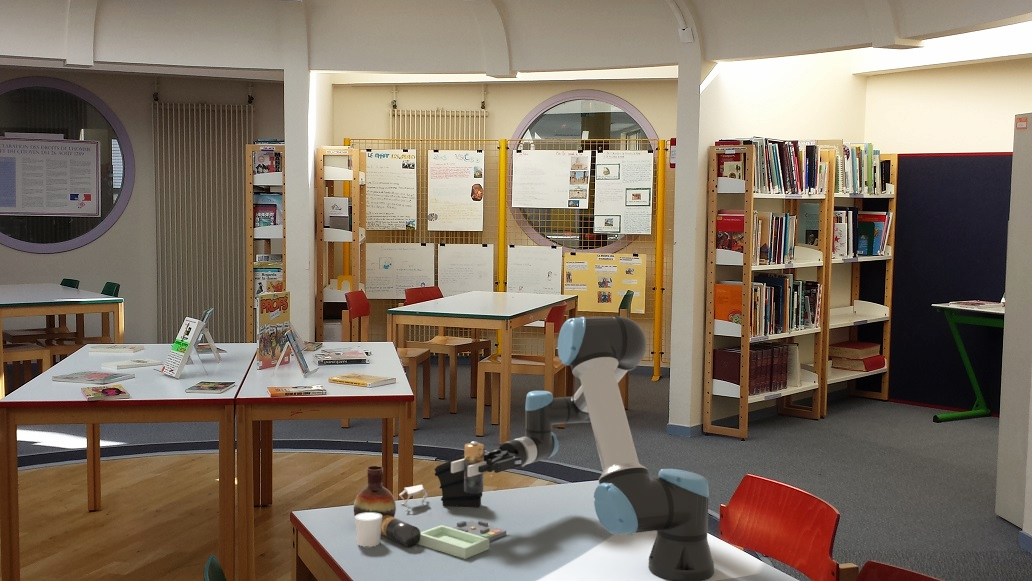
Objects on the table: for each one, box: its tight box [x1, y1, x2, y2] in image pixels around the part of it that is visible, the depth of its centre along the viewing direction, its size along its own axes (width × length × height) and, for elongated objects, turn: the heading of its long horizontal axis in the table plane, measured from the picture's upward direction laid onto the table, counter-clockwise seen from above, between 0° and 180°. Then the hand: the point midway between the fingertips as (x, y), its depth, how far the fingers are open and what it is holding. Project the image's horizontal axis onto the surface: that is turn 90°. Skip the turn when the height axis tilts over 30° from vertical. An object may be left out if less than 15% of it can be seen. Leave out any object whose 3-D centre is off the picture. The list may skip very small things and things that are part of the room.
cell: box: [464, 440, 485, 493], centre depth 240 cm, size 5×5×13 cm
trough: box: [416, 524, 490, 560], centre depth 231 cm, size 16×9×3 cm, turn 52°
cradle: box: [452, 520, 507, 542], centre depth 240 cm, size 12×9×2 cm
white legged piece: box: [398, 484, 428, 512], centre depth 263 cm, size 12×8×5 cm
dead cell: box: [381, 515, 421, 548], centre depth 234 cm, size 13×5×5 cm, turn 42°
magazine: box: [433, 455, 483, 509], centre depth 264 cm, size 4×13×15 cm, turn 83°
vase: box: [353, 465, 397, 518], centre depth 246 cm, size 11×11×15 cm
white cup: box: [354, 512, 382, 547], centre depth 232 cm, size 7×7×7 cm
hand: (460, 469), depth 236 cm, fingers closed on cell, 5 cm apart
